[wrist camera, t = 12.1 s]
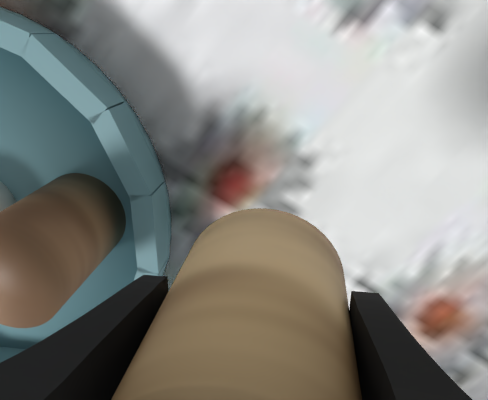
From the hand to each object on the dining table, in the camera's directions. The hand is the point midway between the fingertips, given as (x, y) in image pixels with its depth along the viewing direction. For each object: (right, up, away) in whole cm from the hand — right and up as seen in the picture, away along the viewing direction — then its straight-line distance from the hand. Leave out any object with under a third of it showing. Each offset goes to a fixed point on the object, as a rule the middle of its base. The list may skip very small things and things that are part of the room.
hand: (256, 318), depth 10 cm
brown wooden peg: (-8, +2, +11) cm, 14 cm away
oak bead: (0, +1, +2) cm, 2 cm away
